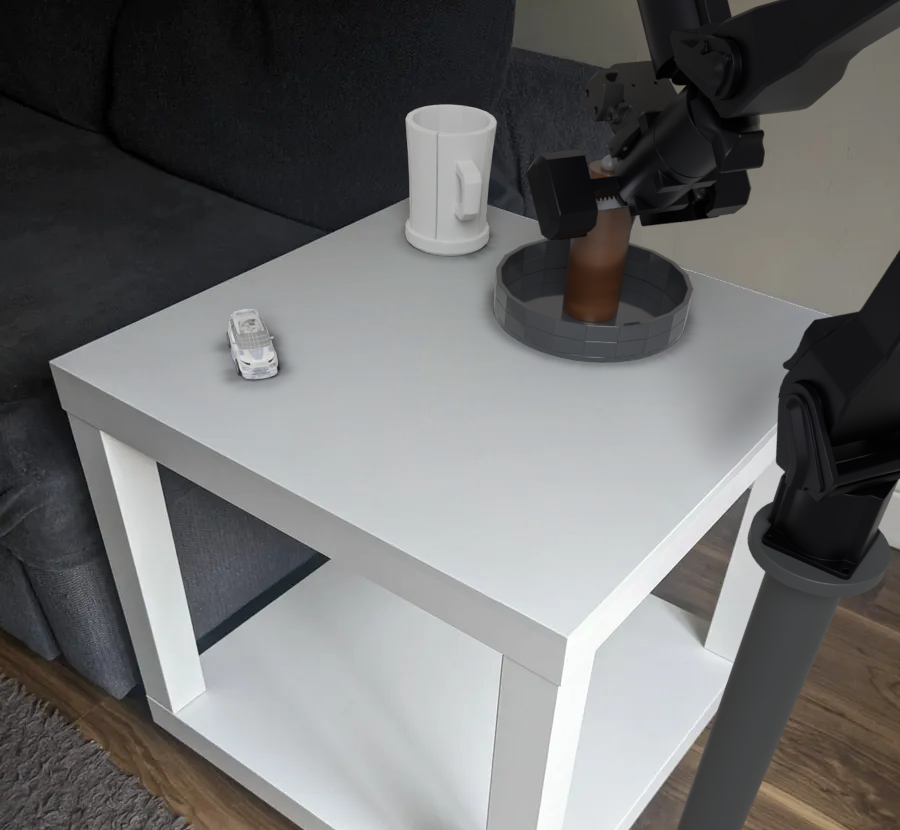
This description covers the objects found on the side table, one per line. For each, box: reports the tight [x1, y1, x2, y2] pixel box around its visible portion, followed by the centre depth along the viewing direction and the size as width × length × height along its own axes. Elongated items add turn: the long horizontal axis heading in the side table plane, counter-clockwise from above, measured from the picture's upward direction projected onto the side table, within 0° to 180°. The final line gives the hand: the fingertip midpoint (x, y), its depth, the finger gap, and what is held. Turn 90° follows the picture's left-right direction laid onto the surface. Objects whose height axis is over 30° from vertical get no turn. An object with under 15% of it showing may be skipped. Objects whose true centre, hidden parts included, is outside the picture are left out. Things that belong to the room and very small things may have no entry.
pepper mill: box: [562, 154, 634, 322], centre depth 88 cm, size 5×5×14 cm
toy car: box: [226, 308, 280, 380], centre depth 84 cm, size 4×8×3 cm, turn 18°
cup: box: [404, 104, 498, 257], centre depth 99 cm, size 10×9×12 cm
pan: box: [493, 238, 694, 363], centre depth 92 cm, size 18×18×4 cm
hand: (597, 227), depth 88 cm, fingers open, 9 cm apart
